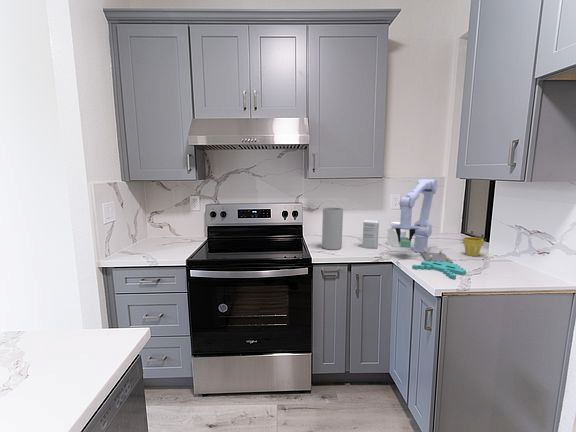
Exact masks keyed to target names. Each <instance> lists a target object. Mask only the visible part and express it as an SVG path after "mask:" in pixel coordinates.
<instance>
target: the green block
mask: <svg viewBox="0 0 576 432" xmlns="http://www.w3.org/2000/svg"><path fill="white" fill-rule="evenodd" d="M398 243H399V245H400V247H399V248H409V249H410V248H411V245H412V240H411V241H410V240H409V237H400V242H398Z"/></svg>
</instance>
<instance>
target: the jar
mask: <svg viewBox="0 0 576 432" xmlns="http://www.w3.org/2000/svg"><path fill="white" fill-rule="evenodd" d="M392 225H400V221H391V222H390V226H389V227H388V229H387V240H386V241H387V242H386V245H387V244H388V246H390V245H392V246H391V247H393V246H394V248H401V247H400V245H399V243H398V236H397V233H396V230H395V229H392ZM400 231H401V233H400V237H406V235H407V230H406V229H400Z"/></svg>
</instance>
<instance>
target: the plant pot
mask: <svg viewBox="0 0 576 432" xmlns="http://www.w3.org/2000/svg"><path fill="white" fill-rule="evenodd" d="M462 243H463V247H464V253H465V256H469V257H470V256H471V257H479V256H480V253H481V249H482V246H484V239H483V238H480V237H474V236H473V237H471V236H464V237H463V238H462Z"/></svg>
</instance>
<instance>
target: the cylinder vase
mask: <svg viewBox="0 0 576 432" xmlns="http://www.w3.org/2000/svg"><path fill="white" fill-rule="evenodd" d="M343 220H344V208H342V207H323V208H322V228H321V229H322V234H321V247H322V248H323V249H325V250H330V251H334V250H341V249H342V248H343V246H342V245H343V226H344V225H343V223H344V221H343Z"/></svg>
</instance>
